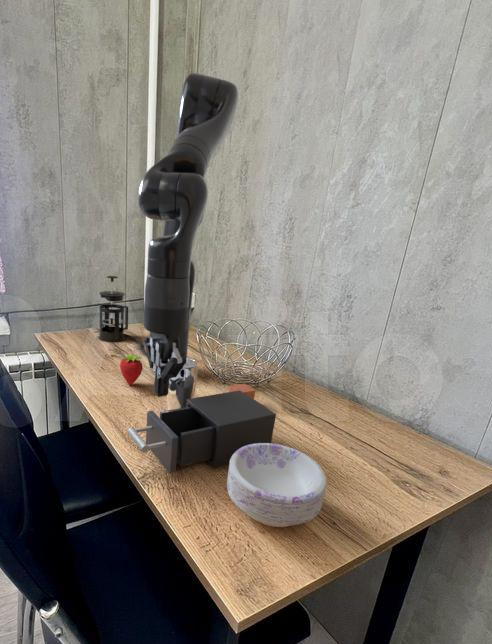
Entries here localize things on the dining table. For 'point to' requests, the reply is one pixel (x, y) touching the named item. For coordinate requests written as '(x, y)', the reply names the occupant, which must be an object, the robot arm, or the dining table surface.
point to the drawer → (177, 437)
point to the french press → (109, 330)
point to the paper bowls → (276, 484)
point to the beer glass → (182, 386)
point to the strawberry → (131, 368)
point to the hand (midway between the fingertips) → (161, 394)
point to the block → (243, 389)
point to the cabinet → (234, 422)
